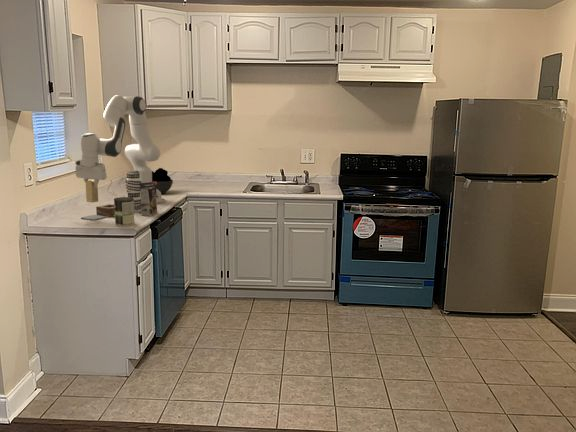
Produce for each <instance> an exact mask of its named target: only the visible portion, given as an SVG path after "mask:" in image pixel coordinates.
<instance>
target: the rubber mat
mask: <svg viewBox="0 0 576 432" xmlns="http://www.w3.org/2000/svg"><path fill="white" fill-rule="evenodd" d="M106 218H108V217H107V216H101V215H97V214H91V215H87V216H81V217H80V219H81V220H87V221H94V222H95V221H98V220H102V219H106Z"/></svg>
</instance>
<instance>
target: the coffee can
mask: <svg viewBox="0 0 576 432" xmlns="http://www.w3.org/2000/svg"><path fill="white" fill-rule="evenodd" d="M113 202H114V203H113V204H114V207H115V216H114V222H115V223H114V225H115V226H119V227H127V226H128V227H129V226H133V225H135V224H136V223H135V212H134V198H131V197H128V196H122V197H121V196H120V197H115V198H113Z"/></svg>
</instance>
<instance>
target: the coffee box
mask: <svg viewBox="0 0 576 432" xmlns="http://www.w3.org/2000/svg"><path fill="white" fill-rule="evenodd" d="M140 213H141V216H143V217H144V216H145V217H152V216H153V215H156V214H158V203H157V195H156V187H145V188H142V189H141V211H140Z"/></svg>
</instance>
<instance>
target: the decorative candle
mask: <svg viewBox="0 0 576 432" xmlns="http://www.w3.org/2000/svg"><path fill="white" fill-rule="evenodd" d="M125 183H126V184H125V186H126V187H125V188H126V193H127V197H131V198H134V213H138V212H141V196H140V192H141V190H140V188H141V187H140V185H141V184H140V183H141V181H140V175H139V172H138V171H137V170H134V169H130V170H128V171H127V172H126V179H125Z"/></svg>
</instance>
